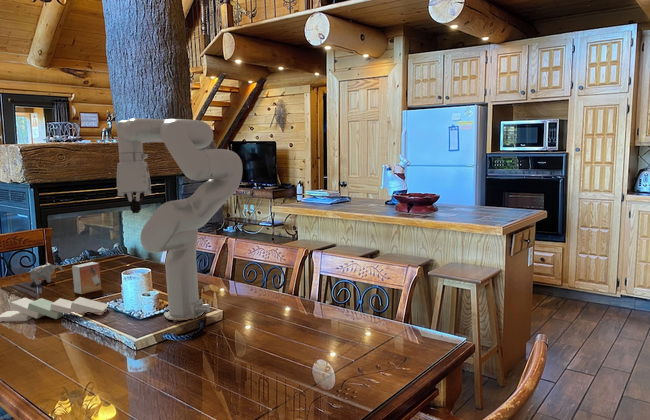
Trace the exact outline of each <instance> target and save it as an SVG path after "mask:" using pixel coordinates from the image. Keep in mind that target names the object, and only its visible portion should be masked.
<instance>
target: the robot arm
mask: <svg viewBox="0 0 650 420" xmlns="http://www.w3.org/2000/svg"><path fill="white" fill-rule="evenodd" d="M116 134H117V146H118V147H117V148H118V159H119V162H117V167H116V190H117V196H118V197H124V198H125V199H126V200H127V201H128V202H129V205H130V206H129V208H130V211H131V212H132V214H139V213H140V212H141V210H142V205H141V204H142V203H141V201H142V200H143V198H144V197H146V196H148V195H149V196H150V195H152V190H151V189H152V183H151V176H150V170H149V165H148V163H147V161H145V159H148V158H149V156H148V153H147V154H146V153H144V147H143V143H164V146H165V148H166V149H167V151H168V152H169V153H170V156H171V157H172V159H173V160H174V161H175V163H176V164H177V166H178V167H179V169H180V170H181V172H182V173H183V175H184V176H186V178H188V179H189V180H192V181H197V182H200V181H205V182H203V183H202V184H201V185H199V186H198V188H197V189H196V190H195V191H194V193H192V195H190V196H189V197H187V198H182V199H176V200H175V199H174V200H170V201H165V202H164V203H162V204H161V205H159V206H158V207H157V209H156V210H155V211H154V212H153V214H152V215H151V216H150V217H149V219H148V220H147V221H146V223H145V224H144V225H143V227H142V229H141V232H140V243H141V245H142V247H143V249H144V250H145V251H147V252H149V253H152V254H158V253H164V252H167V254H166V257H165V262H164V266H165V277H166V278H165V279H166V280H165V281H166V291H167V292H166V294H167V305H168V306H167V307H168V310H169V311H168V312H166V311H165V312H164V313H163V317H164V316H165V317H166V318H168V319H175V320H176V319H189V318H193V317H197V316H200V315H202V314H203V313H204V312H205V313H210V310H211V306H210V303H203V299H200V296H199V284H198V268H197V244H198V243H197V242H198V235H199V233H198V229H201V228H202V227H204V226H205V225H207V223H208V222H209V220H211V218H212V217H213V216H214V215H215V214H216V213H217V212H218V211H219V210H220V208H221V207H222V206H223V205H224V204H225V203H226V202H227V201H229V199H230V198H231V197H232V196H233V195H234V194H235V192H236V191H237V190H238V188H239V186H240V184H241V182H242V178H243V162H242V159H241V158H240V156H239V155H238V153H236V152H235V151H233V150H230V149H227V148H225V149H224V148H211V149H210V148H209V149H208V148H207V149H204V148H206V147H208V146H210V145H211V143H213V139H214V131H213V128H212V127H211V126H210V125H209V123H207V122H205V121H202V120H198V119H183V118H168V119H165V118H164V119H163V118H161V119H160V118H130V119H128V120H125V119H124V120H119V121H117V123H116ZM134 193H135V196H134ZM205 313H204V314H205ZM204 314H203V315H204ZM203 315H202V316H203Z"/></svg>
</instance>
